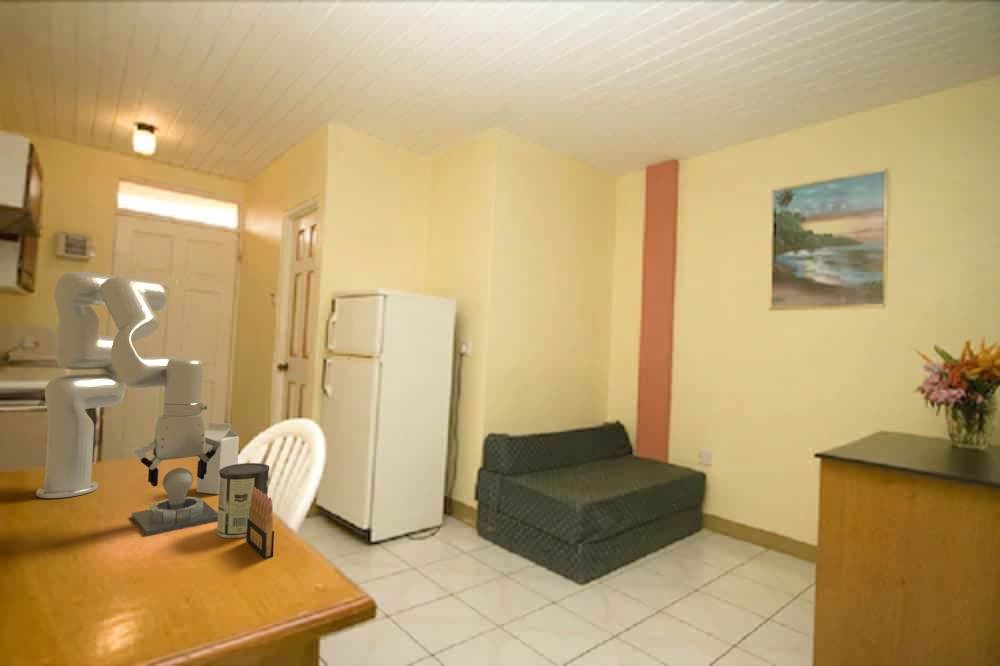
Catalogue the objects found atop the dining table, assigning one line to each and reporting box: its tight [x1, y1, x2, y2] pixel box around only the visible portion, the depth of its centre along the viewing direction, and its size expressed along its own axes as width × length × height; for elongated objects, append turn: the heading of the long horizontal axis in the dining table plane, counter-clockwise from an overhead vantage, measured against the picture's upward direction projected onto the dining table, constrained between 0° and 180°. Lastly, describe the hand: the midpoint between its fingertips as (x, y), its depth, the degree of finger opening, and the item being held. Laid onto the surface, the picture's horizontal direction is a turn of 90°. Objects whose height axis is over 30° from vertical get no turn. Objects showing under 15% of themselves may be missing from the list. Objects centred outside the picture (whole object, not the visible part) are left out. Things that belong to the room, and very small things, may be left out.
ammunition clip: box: [245, 487, 275, 559], centre depth 104 cm, size 11×2×12 cm, turn 45°
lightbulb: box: [162, 467, 194, 510], centre depth 118 cm, size 6×6×11 cm
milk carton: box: [196, 422, 240, 495], centre depth 140 cm, size 7×7×19 cm
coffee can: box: [216, 462, 270, 539], centre depth 113 cm, size 10×10×14 cm
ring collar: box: [131, 496, 218, 537], centre depth 118 cm, size 15×15×4 cm
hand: (177, 481), depth 118 cm, fingers open, 9 cm apart
